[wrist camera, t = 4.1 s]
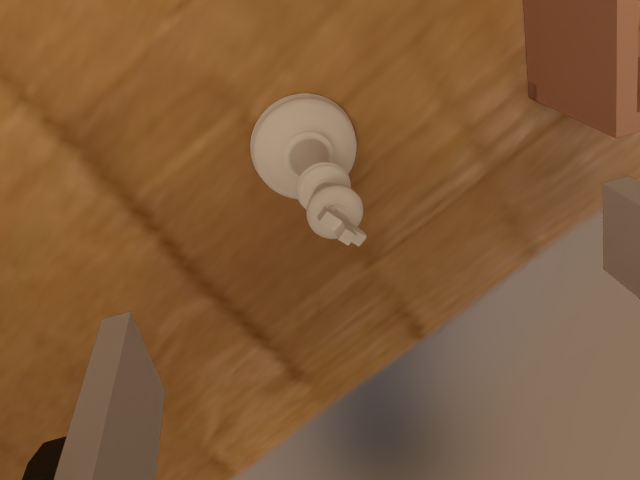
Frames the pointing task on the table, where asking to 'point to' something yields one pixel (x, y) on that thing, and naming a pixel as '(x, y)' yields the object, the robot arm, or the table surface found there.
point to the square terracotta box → (586, 60)
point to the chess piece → (311, 162)
